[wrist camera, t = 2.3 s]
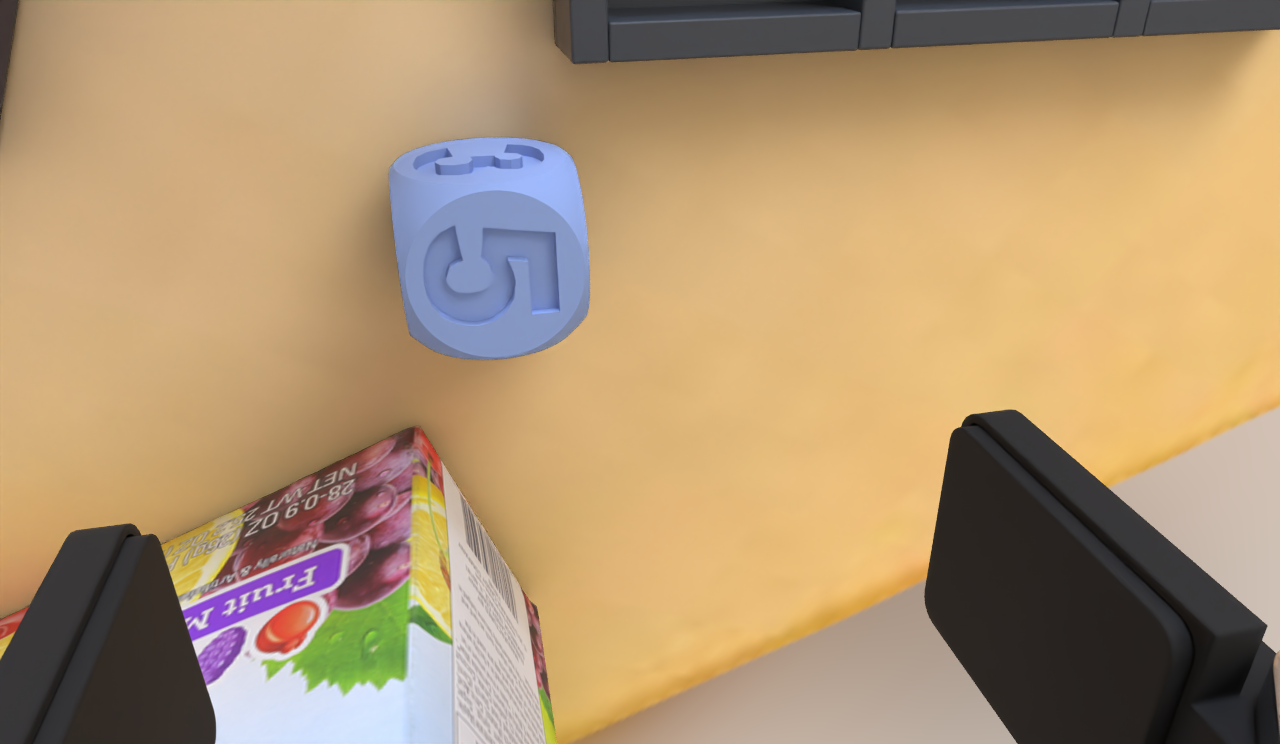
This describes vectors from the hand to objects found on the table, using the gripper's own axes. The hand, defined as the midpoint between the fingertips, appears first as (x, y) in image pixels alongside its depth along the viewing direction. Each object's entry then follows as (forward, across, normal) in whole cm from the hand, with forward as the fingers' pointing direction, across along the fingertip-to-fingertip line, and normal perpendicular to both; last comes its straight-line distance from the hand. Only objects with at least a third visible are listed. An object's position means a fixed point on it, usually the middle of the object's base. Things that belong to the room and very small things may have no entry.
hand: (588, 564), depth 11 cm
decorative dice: (+14, 0, 0) cm, 14 cm away
